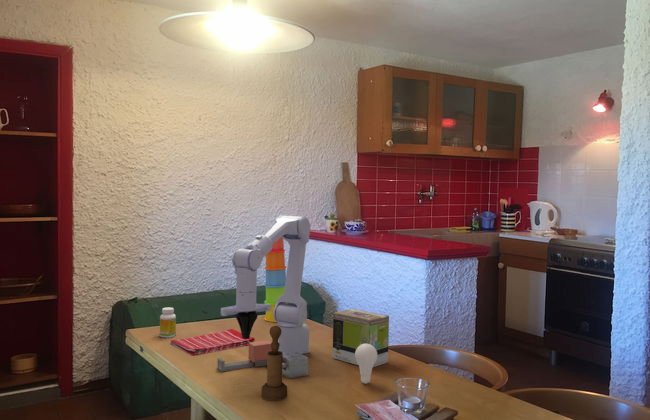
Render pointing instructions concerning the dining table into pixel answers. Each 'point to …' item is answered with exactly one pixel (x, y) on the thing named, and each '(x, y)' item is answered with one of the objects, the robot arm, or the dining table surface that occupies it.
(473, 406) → the dining table surface
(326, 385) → the dining table surface
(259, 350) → the block
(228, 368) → the rail
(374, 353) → the lightbulb
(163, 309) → the supplement bottle
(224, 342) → the dish towel
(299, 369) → the grey block with hole
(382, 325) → the tea box
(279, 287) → the stacking cups
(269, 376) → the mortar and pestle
